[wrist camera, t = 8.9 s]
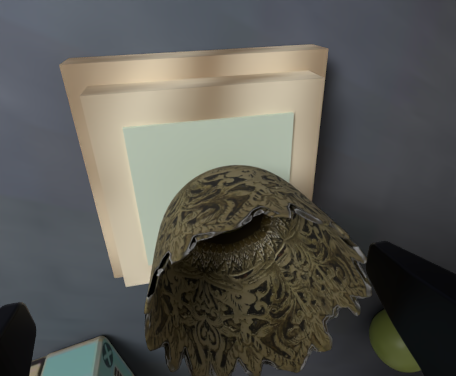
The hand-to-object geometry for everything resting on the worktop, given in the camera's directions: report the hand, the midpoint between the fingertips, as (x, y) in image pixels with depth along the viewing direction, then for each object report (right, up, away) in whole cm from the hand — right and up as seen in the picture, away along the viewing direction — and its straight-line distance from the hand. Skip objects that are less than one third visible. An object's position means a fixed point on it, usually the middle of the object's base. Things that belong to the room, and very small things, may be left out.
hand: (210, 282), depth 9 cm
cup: (0, +2, +9) cm, 9 cm away
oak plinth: (-1, +4, +12) cm, 13 cm away
